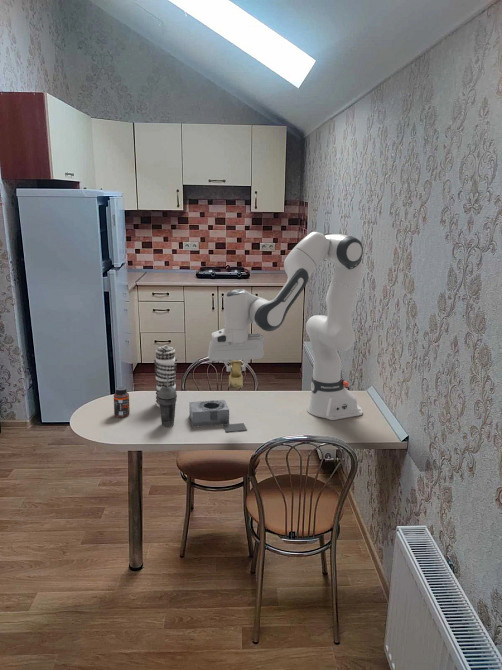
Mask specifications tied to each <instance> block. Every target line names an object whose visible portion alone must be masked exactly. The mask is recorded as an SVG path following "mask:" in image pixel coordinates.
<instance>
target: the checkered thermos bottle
mask: <svg viewBox="0 0 502 670" xmlns="http://www.w3.org/2000/svg"><path fill="white" fill-rule="evenodd" d="M154 352H155V356H156V357H155V359H154V360H153V366H154V376H155V380H156V388H155V391H156V392H155V399H156V400H155V404H156V406H157V407H158V408H160V405H159V401H158V392H159V390H160V389H161V388H162V387H163V386H166V385H167V376H168V386H172V387H173V388H174V389H175V391H176V394H177V388H176V386H177V385H176V378H177V376H176V375H177V372H176V371H177V369H178V368H177V366H178V364H177V363H176V362H177V361H178V359H177V358H176V356H175V354H176V353H175V352H176V349H175V348H174V347H173V346H172V345H168V344H165V345H164V344H163V345H160V346H158V347H157V349H155V351H154ZM176 401H177V399H176ZM176 406H177V403H176V404H175V407H176Z"/></svg>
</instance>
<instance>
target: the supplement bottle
mask: <svg viewBox="0 0 502 670" xmlns="http://www.w3.org/2000/svg"><path fill="white" fill-rule="evenodd" d="M113 412H114V413H113V414H114V416H115V417H117V418H120V419H121V418H126V417H128V416H129V415H130V414H131V413H130V412H131V411H130V393H129V392H127V387H125V386H118V387H116V388H115V393H114V394H113Z"/></svg>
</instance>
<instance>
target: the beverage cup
mask: <svg viewBox="0 0 502 670" xmlns="http://www.w3.org/2000/svg"><path fill="white" fill-rule="evenodd" d="M176 392H177V390H176V391H175V389H174V388H173V387H172V386H168V376H167V385H166V386H163V387H162V388H161V389H160V390H159V392H158V401H159V405H160V407H159V411H160V412H159V413H160V421H161V422H160V423H161V425H162V427H165V428H169V427H173V426H174V425H175V417H176V406H175V404H176V405H177V400H176V399H177V397H178V395H177V393H176Z"/></svg>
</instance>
